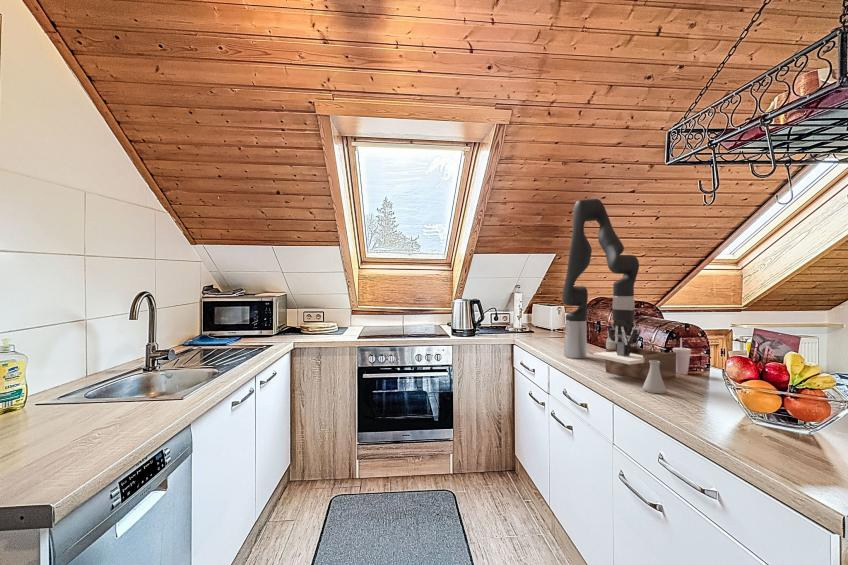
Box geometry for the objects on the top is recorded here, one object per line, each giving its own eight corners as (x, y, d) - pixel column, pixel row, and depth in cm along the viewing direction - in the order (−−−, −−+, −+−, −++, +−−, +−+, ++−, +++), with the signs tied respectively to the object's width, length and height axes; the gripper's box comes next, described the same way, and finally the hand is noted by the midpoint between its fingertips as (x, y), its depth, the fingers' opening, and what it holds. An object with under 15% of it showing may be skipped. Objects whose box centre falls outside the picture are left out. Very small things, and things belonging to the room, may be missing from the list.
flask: (671, 394, 139) (671, 363, 139) (649, 394, 139) (649, 363, 138) (659, 388, 146) (659, 359, 146) (638, 388, 146) (638, 359, 146)
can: (605, 366, 181) (606, 338, 181) (605, 362, 188) (605, 335, 187) (625, 367, 178) (625, 338, 178) (624, 364, 185) (624, 336, 185)
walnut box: (605, 372, 170) (605, 348, 170) (634, 368, 176) (634, 345, 176) (645, 382, 153) (645, 356, 153) (675, 378, 160) (676, 352, 160)
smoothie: (668, 372, 169) (668, 337, 168) (679, 371, 171) (679, 336, 171) (684, 376, 163) (684, 339, 163) (695, 374, 166) (695, 338, 165)
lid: (592, 356, 166) (592, 340, 166) (617, 353, 171) (617, 338, 171) (629, 364, 151) (629, 347, 151) (655, 361, 156) (655, 344, 156)
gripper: (601, 307, 166) (601, 351, 166) (632, 309, 153) (632, 358, 153) (615, 306, 169) (615, 350, 169) (646, 309, 156) (646, 356, 156)
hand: (623, 353), depth 161 cm, fingers closed on lid, 3 cm apart
